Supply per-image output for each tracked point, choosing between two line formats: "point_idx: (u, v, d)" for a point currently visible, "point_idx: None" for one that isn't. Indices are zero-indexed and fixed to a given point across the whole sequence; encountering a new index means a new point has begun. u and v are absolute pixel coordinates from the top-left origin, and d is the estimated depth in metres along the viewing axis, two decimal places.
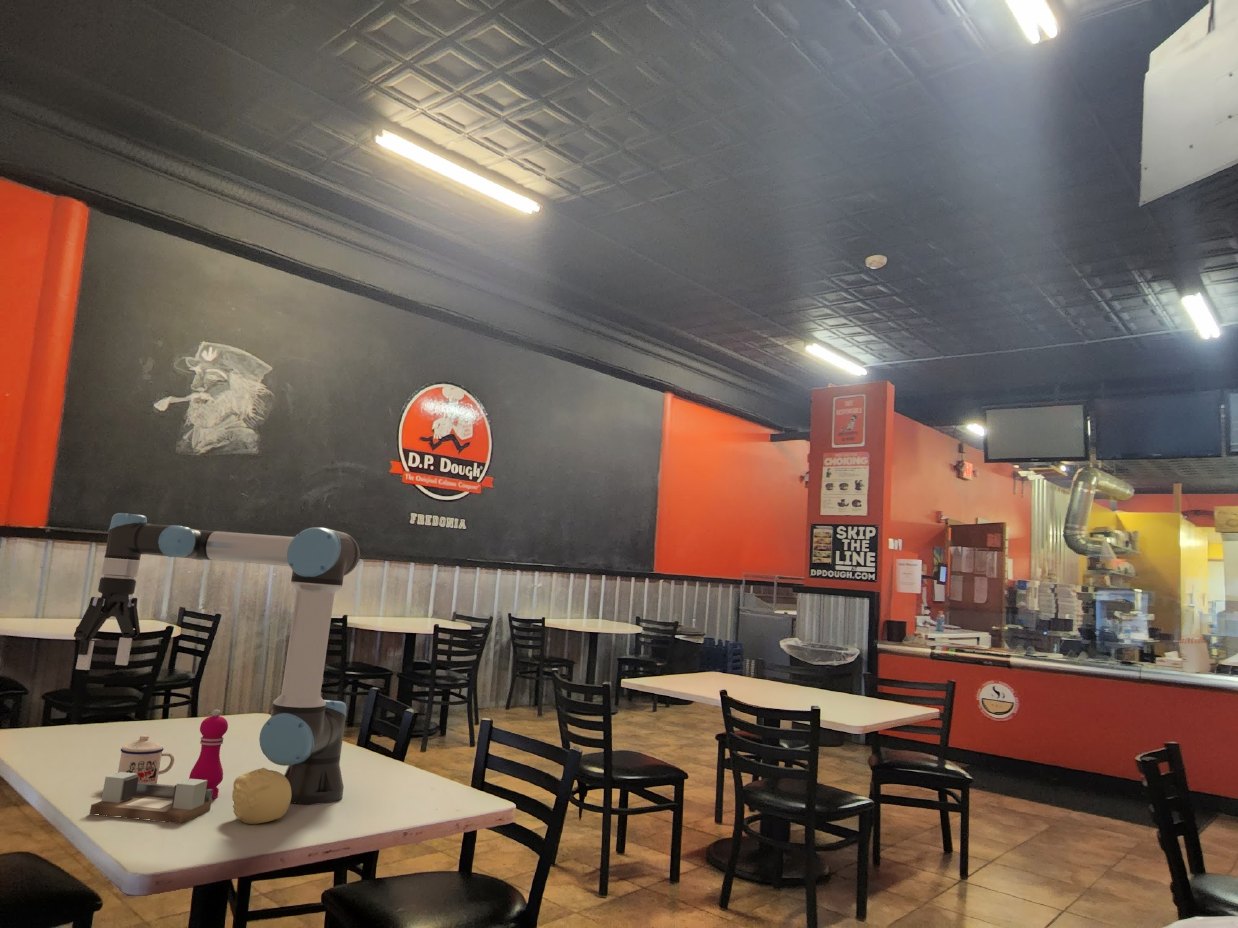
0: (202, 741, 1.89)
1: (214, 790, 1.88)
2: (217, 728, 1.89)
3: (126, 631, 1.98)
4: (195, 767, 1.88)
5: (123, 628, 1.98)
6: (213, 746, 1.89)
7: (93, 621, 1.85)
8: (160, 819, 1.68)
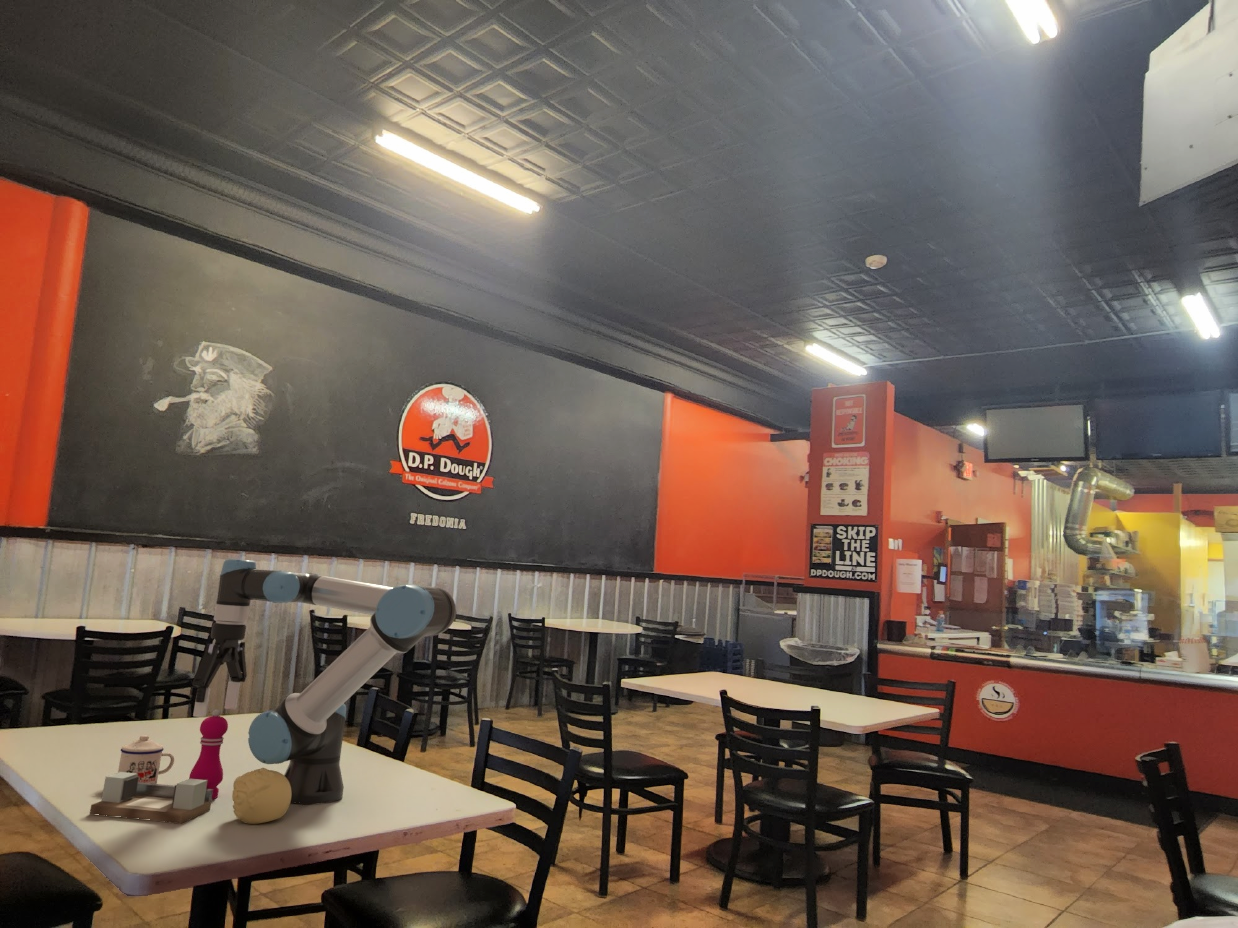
0: (202, 741, 1.89)
1: (214, 790, 1.88)
2: (217, 728, 1.89)
3: (235, 675, 1.99)
4: (195, 767, 1.88)
5: (232, 672, 1.99)
6: (213, 746, 1.89)
7: (209, 668, 1.86)
8: (160, 819, 1.68)
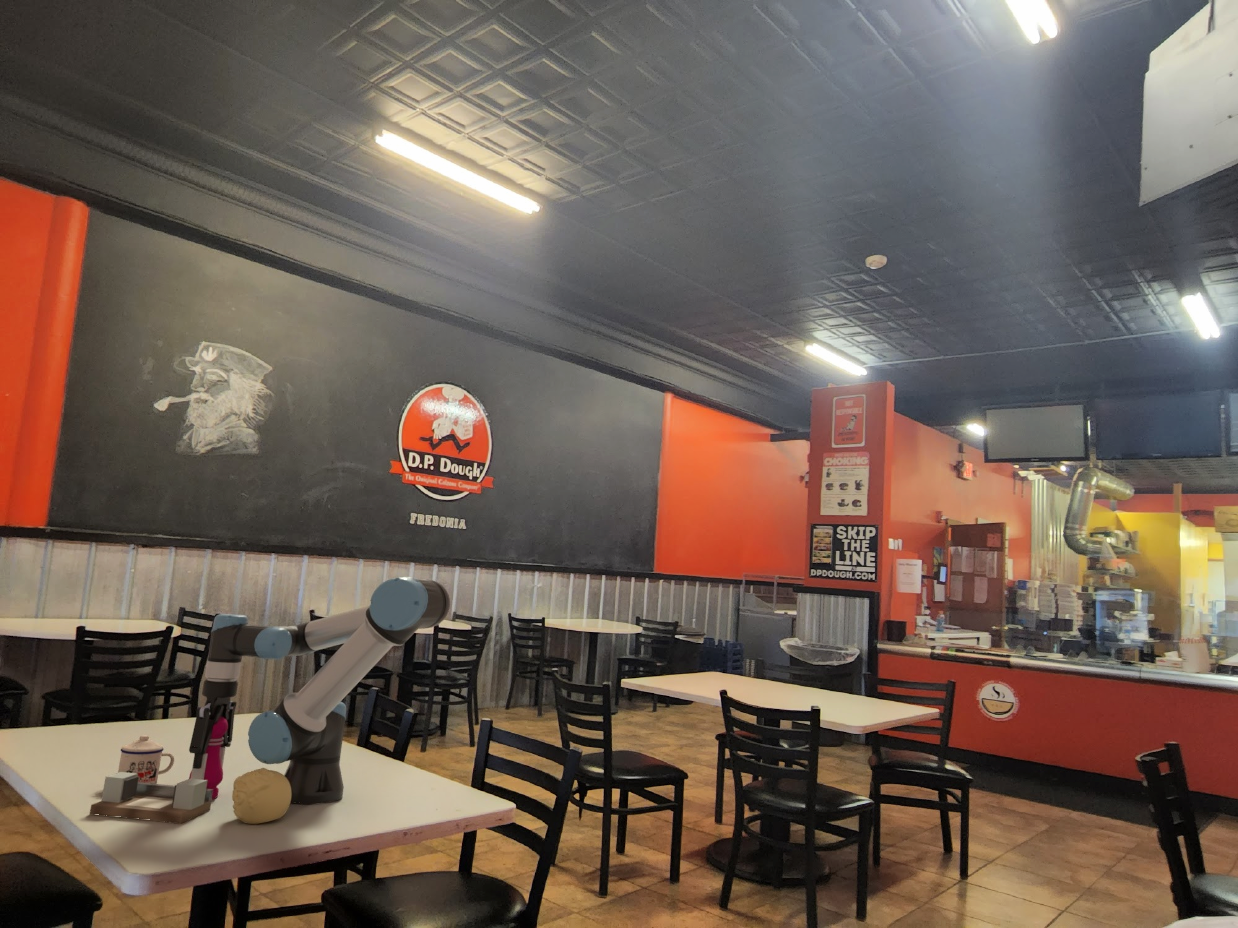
0: None
1: (214, 790, 1.88)
2: (216, 728, 1.89)
3: None
4: None
5: None
6: (213, 746, 1.89)
7: (204, 733, 1.85)
8: (160, 819, 1.68)
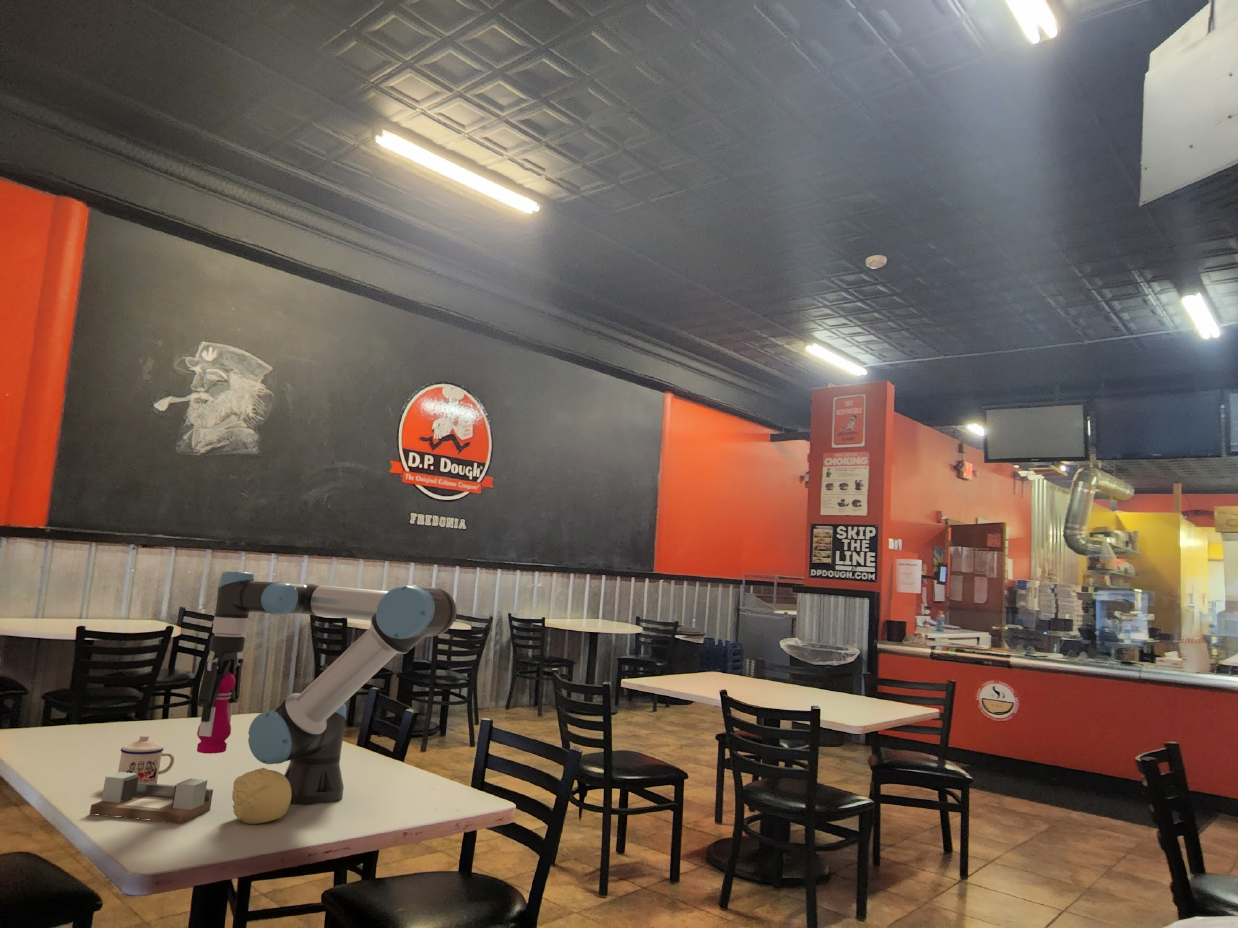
0: None
1: (222, 744, 1.90)
2: (224, 682, 1.91)
3: None
4: None
5: None
6: (221, 700, 1.91)
7: (212, 686, 1.87)
8: (160, 819, 1.68)
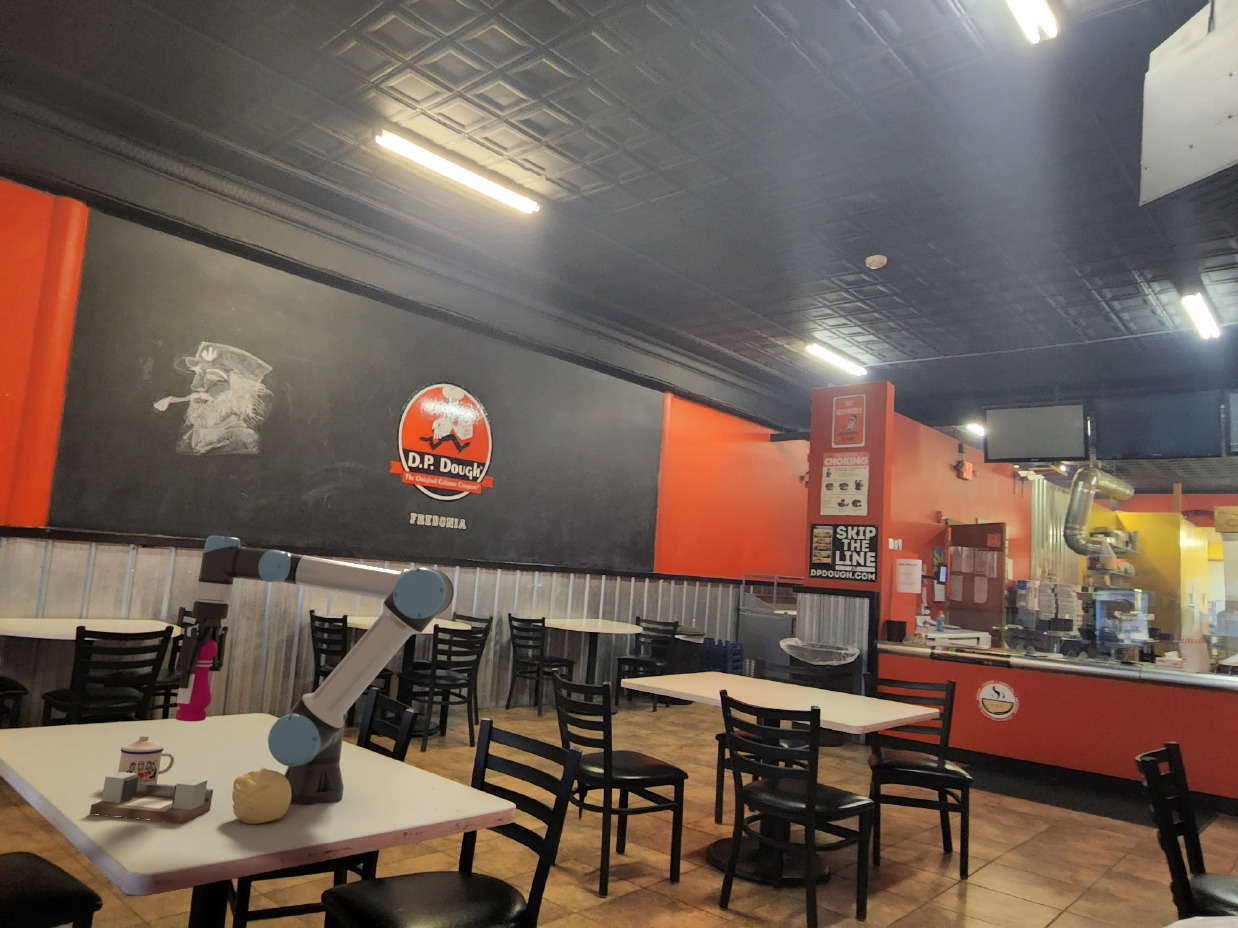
0: None
1: (201, 712, 1.85)
2: (205, 649, 1.85)
3: None
4: None
5: None
6: (201, 668, 1.86)
7: (191, 653, 1.82)
8: (160, 819, 1.68)
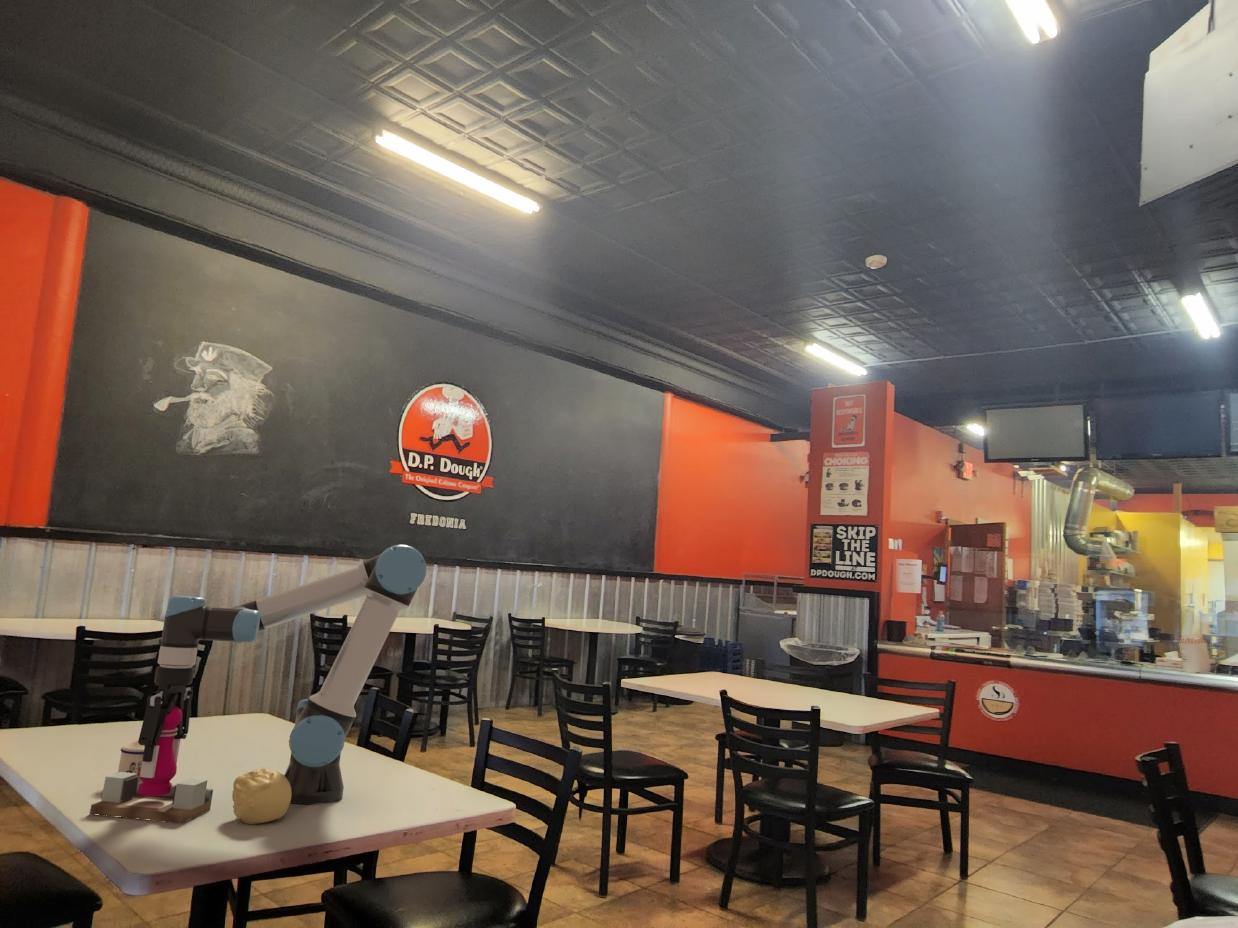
0: None
1: (166, 785, 1.74)
2: (169, 718, 1.75)
3: None
4: None
5: None
6: (165, 737, 1.75)
7: (155, 723, 1.71)
8: (160, 819, 1.68)
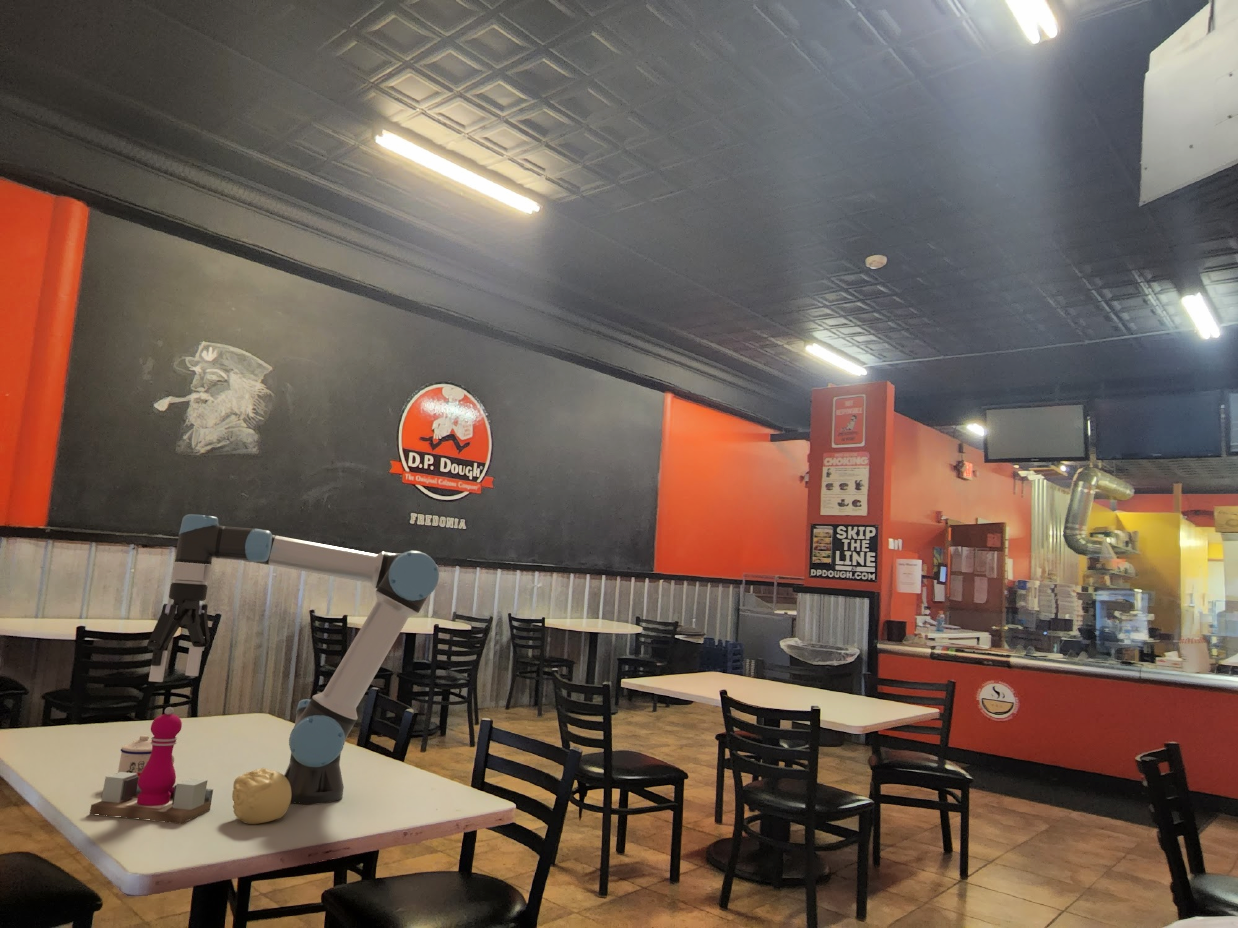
0: (153, 741, 1.75)
1: (165, 794, 1.74)
2: (169, 727, 1.75)
3: (196, 640, 1.86)
4: (145, 769, 1.74)
5: (194, 636, 1.86)
6: (165, 747, 1.75)
7: (166, 629, 1.73)
8: (160, 819, 1.68)
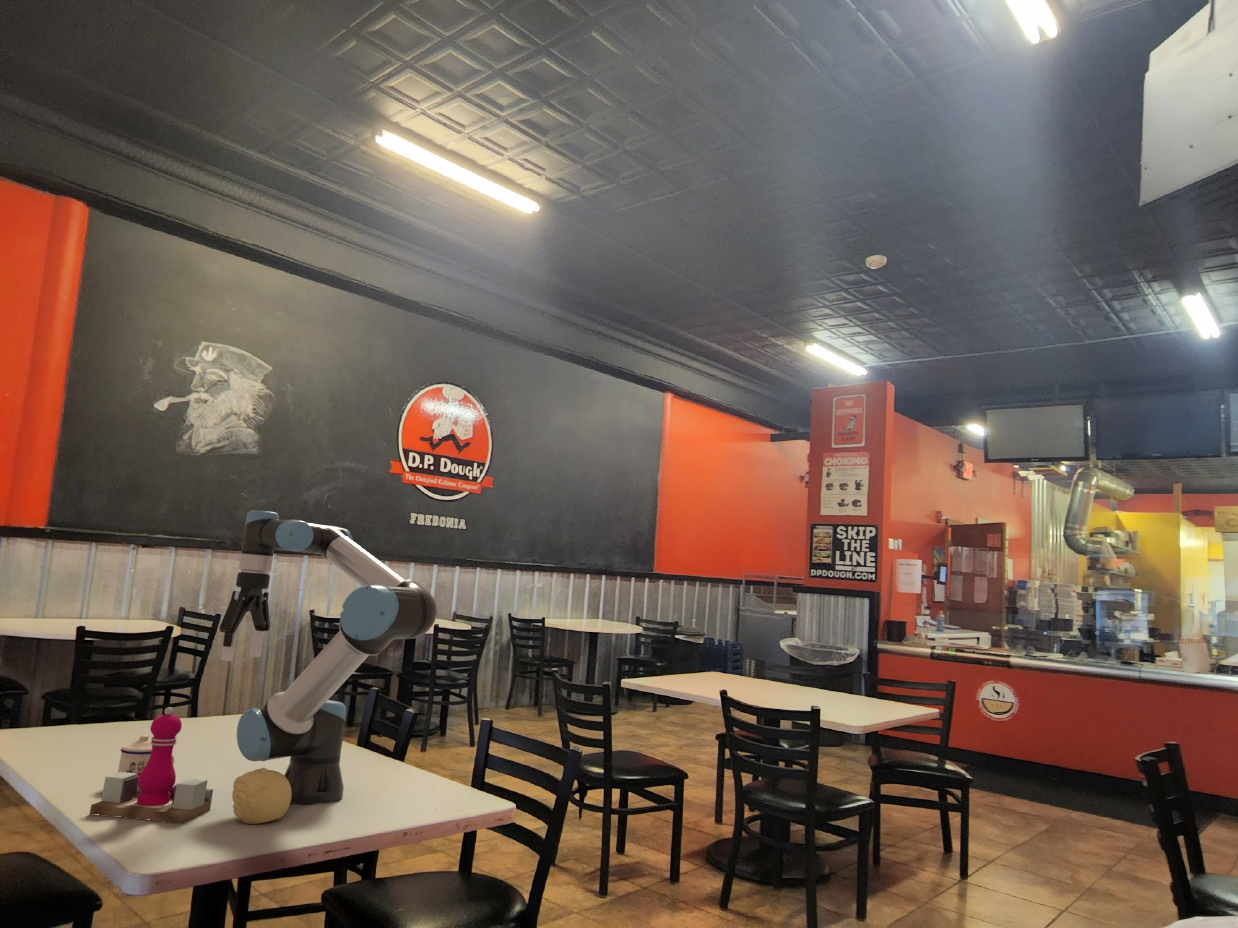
0: (152, 741, 1.75)
1: (165, 795, 1.74)
2: (168, 727, 1.75)
3: (259, 624, 2.05)
4: (144, 770, 1.74)
5: (256, 621, 2.05)
6: (164, 747, 1.75)
7: (236, 614, 1.92)
8: (160, 819, 1.68)
